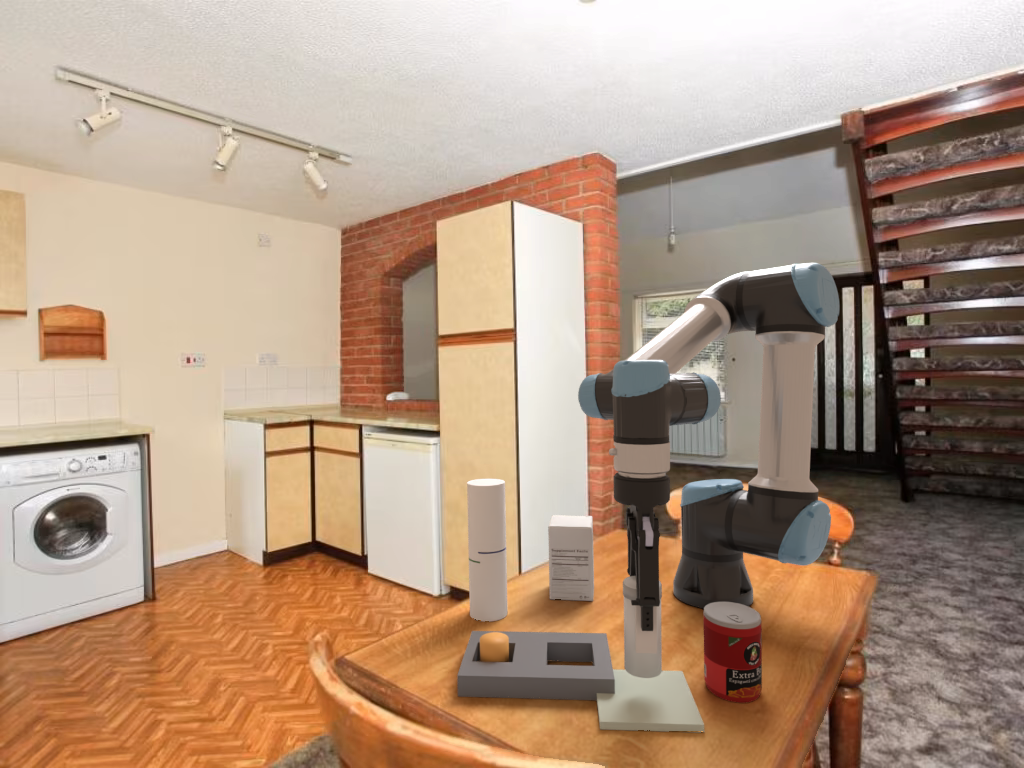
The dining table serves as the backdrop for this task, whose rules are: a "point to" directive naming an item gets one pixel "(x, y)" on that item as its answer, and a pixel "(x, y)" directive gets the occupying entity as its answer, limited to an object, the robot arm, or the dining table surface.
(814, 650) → the dining table surface
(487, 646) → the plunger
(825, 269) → the robot arm
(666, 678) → the mat
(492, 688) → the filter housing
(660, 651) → the cartridge
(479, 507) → the cylindrical container
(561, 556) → the supplement box
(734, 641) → the canned food
